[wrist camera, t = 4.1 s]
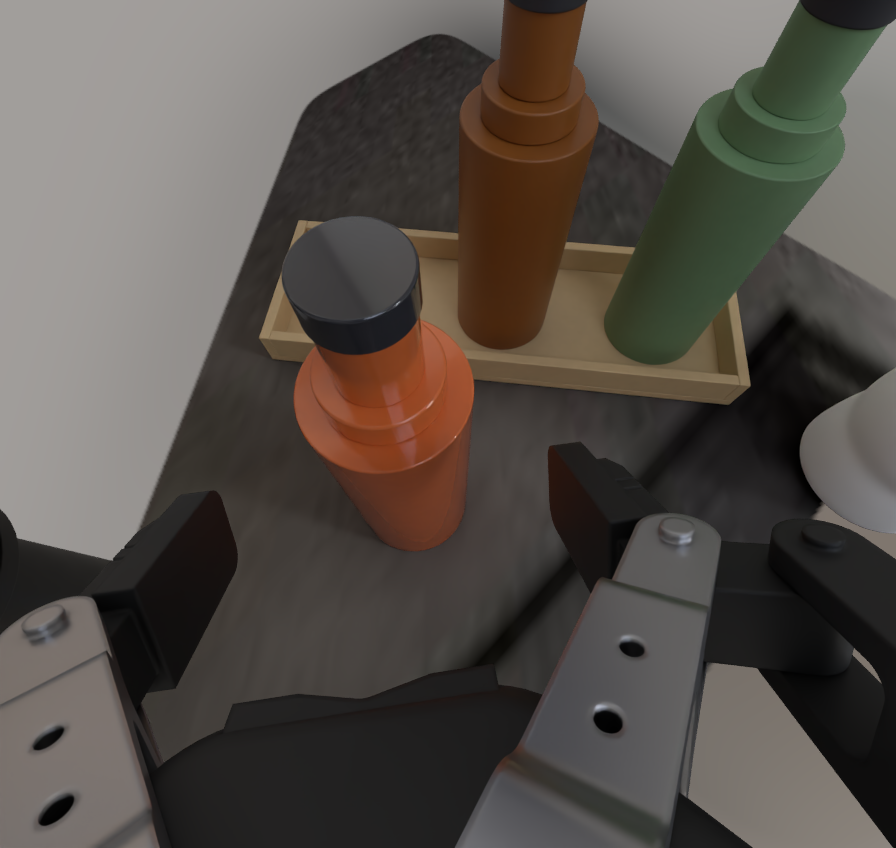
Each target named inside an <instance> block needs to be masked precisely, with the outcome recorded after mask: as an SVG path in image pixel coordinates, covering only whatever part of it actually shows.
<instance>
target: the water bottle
mask: <svg viewBox="0 0 896 848" xmlns="http://www.w3.org/2000/svg"><path fill="white" fill-rule="evenodd" d="M800 461H801V465H802V469H803V472H804V474H805V477H806V479H807V481H808V483H809V484H810V486H811V487H812V489H813V490H814V492H815V493H816V494H817V496H818V497H819V498H820V499H821V500H822V501H823V502H824V503H825V504H826V505H827V506H828V507H829V508H830V509H832V510H833V511H834V512H835V513H837V514H838V515H840V516H841V517H843V518H844V519H846V520H848V521H850V522H851V523H854V524H856V525H858V526H860V527H863V528H866V529H869V530H872V531H877V532H883V533H896V368H894V369H893V370H891V371H890V372H888V373H887V374H885V375H884V376H882V377H881V378H879V379H878V380H877V381H875V382H874V383H873V384H872V385H871V386H870V387H868V388H867V389H866V390H865V391H862V392H860V393H858V394H855V395H853V396H851V397H849V398H847V399H845V400H843V401H841V402H839V403H838V404H836V405H834V406H832V407H831V408H829V409H827V410H826V411H824V412H823V413H821V414H820V415H818V416H817V417H816V418H815V419H814V420H813V421H812V422H811V423H810V424H809V425H808V426H807V428H806V429H805V431H804V433H803V435H802V439H801V443H800Z"/></svg>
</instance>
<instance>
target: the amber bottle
mask: <svg viewBox="0 0 896 848" xmlns="http://www.w3.org/2000/svg"><path fill="white" fill-rule="evenodd" d="M586 2H587V0H504V11H503V23H502V36H501V37H502V38H501V49H500V59H498V60H496V61H495V62H493V63H492V64H491V65H490V66H489V67H488V68H487V69H486V71H485V73H484V75H483V78H482V84H480V85H479V86H477V87H476V88H474V89H473V90H472V91H471V92H470V93H469V94H468V96H467V97H466V98H465V100H464V102H463V104H462V107H461V109H460V116H459V218H458V320H459V323H460V326H461V328H462V329H463V331H464V332H465V333H466V335H467V336H468V337H469V338H470V339H472V340H473V341H474V342H476V343H478V344H480V345H482V346H484V347H487V348H491V349H497V350H508V349H514V348H518V347H520V346H523V345H525V344H527V343H528V342H530V341H531V340H532V339H534V338H535V337H536V336H537V334H538V333H539V332H540V330H541V328H542V326H543V323H544V319H545V316H546V312H547V309H548V305H549V302H550V298H551V294H552V291H553V287H554V284H555V280H556V276H557V273H558V269H559V266H560V262H561V259H562V255H563V251H564V248H565V244H566V241H567V237H568V234H569V230H570V226H571V223H572V219H573V216H574V212H575V208H576V205H577V201H578V198H579V194H580V191H581V187H582V183H583V180H584V176H585V173H586V169H587V165H588V162H589V158H590V155H591V151H592V148H593V144H594V140H595V137H596V133H597V130H598V124H599V120H598V113H597V109H596V107H595V105H594V103H593V102H592V100H591V99H590V97H589V96H587V94H586V93H585V80H584V77H583V75H582V73H581V72H580V70H579V69H578V68H577V67H576V66H575V65H574V59H575V55H576V50H577V45H578V40H579V35H580V31H581V26H582V21H583V16H584V11H585V6H586Z"/></svg>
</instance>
